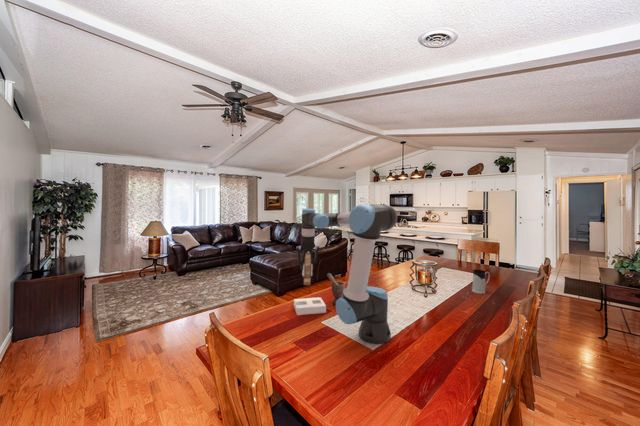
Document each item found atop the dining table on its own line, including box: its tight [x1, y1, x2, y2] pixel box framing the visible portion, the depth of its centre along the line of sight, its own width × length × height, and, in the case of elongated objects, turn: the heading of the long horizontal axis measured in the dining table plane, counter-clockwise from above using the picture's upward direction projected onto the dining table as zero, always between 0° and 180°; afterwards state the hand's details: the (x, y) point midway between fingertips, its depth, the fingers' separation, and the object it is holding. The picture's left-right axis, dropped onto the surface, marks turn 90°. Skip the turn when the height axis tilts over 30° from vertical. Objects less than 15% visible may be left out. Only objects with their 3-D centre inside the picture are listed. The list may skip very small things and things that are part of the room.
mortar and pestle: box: [326, 272, 346, 306], centre depth 166 cm, size 12×9×20 cm
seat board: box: [293, 296, 327, 316], centre depth 159 cm, size 14×17×4 cm
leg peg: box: [303, 252, 312, 286], centre depth 154 cm, size 4×4×18 cm
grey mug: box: [471, 269, 491, 294], centre depth 193 cm, size 9×14×15 cm, turn 107°
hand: (307, 275), depth 154 cm, fingers closed on leg peg, 4 cm apart
